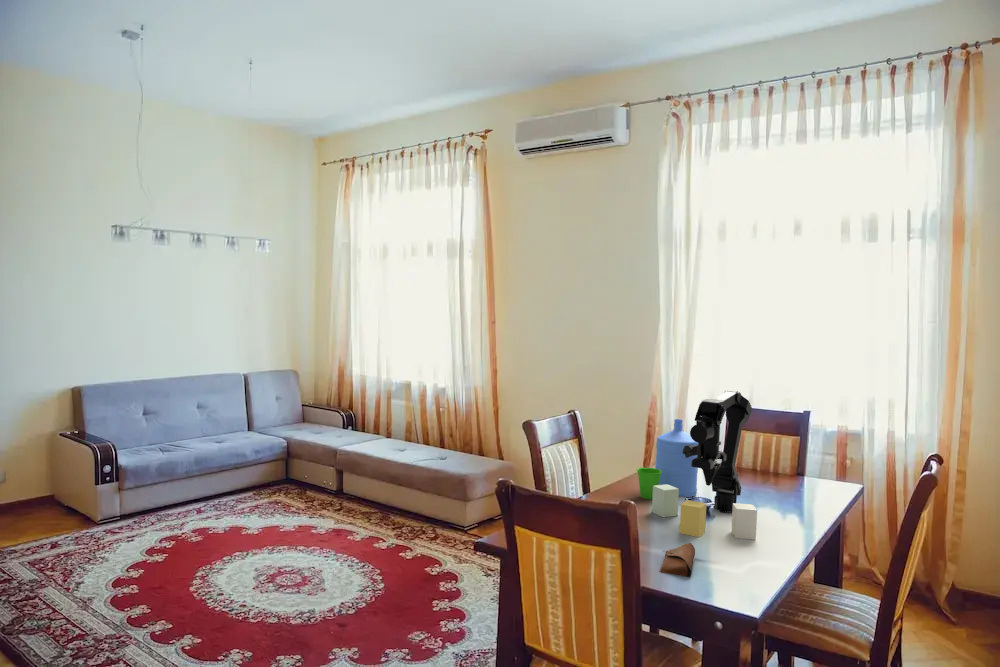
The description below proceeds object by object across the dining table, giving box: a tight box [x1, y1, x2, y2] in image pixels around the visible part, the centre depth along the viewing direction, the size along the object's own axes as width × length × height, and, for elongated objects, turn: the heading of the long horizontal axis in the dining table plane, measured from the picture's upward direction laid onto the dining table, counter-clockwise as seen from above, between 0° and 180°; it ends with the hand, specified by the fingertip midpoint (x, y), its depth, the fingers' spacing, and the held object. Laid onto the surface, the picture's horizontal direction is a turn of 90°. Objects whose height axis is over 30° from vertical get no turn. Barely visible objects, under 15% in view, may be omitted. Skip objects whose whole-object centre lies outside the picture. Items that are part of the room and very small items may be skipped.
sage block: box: [651, 484, 680, 518], centre depth 230 cm, size 6×6×9 cm
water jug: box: [654, 418, 699, 498], centre depth 261 cm, size 16×16×28 cm
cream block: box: [731, 502, 758, 541], centre depth 210 cm, size 6×6×9 cm
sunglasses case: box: [659, 542, 696, 578], centre depth 189 cm, size 18×7×7 cm
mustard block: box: [679, 499, 707, 538], centre depth 211 cm, size 6×6×9 cm
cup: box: [636, 467, 662, 500], centre depth 250 cm, size 9×9×11 cm
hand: (708, 485), depth 227 cm, fingers closed
